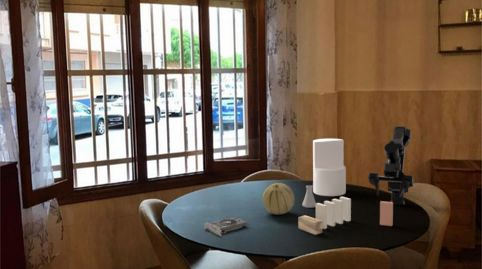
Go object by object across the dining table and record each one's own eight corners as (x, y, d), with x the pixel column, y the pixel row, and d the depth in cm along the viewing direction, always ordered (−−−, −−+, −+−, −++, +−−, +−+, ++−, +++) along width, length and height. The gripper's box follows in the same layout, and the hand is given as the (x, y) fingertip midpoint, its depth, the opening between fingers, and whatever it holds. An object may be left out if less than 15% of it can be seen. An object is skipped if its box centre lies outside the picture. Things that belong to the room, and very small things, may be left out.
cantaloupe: (292, 208, 233) (291, 178, 230) (296, 218, 218) (296, 186, 216) (261, 209, 232) (260, 179, 230) (264, 219, 218) (263, 187, 215)
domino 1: (318, 225, 208) (318, 202, 206) (326, 228, 204) (326, 205, 202) (315, 226, 207) (315, 203, 205) (324, 229, 203) (324, 206, 201)
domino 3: (334, 220, 213) (334, 198, 212) (343, 223, 209) (343, 200, 208) (331, 221, 212) (331, 199, 211) (340, 224, 208) (340, 201, 207)
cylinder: (308, 189, 267) (307, 139, 263) (335, 186, 272) (335, 137, 268) (322, 197, 251) (322, 144, 247) (351, 194, 256) (351, 142, 252)
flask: (305, 208, 232) (305, 188, 231) (299, 204, 239) (299, 185, 238) (319, 207, 234) (319, 187, 232) (313, 203, 241) (313, 183, 239)
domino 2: (326, 222, 210) (326, 200, 209) (335, 225, 206) (335, 203, 205) (324, 223, 210) (324, 201, 208) (332, 226, 206) (332, 203, 204)
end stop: (305, 226, 206) (305, 215, 206) (322, 232, 198) (322, 220, 198) (298, 228, 204) (298, 217, 203) (315, 234, 196) (315, 222, 195)
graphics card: (218, 230, 196) (204, 222, 206) (219, 238, 197) (204, 230, 207) (252, 222, 206) (236, 214, 215) (252, 230, 206) (236, 222, 216)
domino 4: (342, 218, 216) (342, 196, 215) (350, 220, 212) (350, 198, 211) (339, 218, 215) (339, 197, 214) (348, 221, 211) (348, 199, 210)
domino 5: (380, 223, 208) (380, 201, 206) (392, 224, 205) (392, 202, 204) (379, 224, 206) (380, 202, 205) (391, 226, 204) (392, 203, 203)
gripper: (369, 154, 215) (363, 184, 206) (413, 157, 207) (409, 187, 198) (372, 168, 223) (367, 197, 214) (414, 171, 215) (411, 201, 206)
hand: (388, 195), depth 208 cm, fingers open, 9 cm apart
